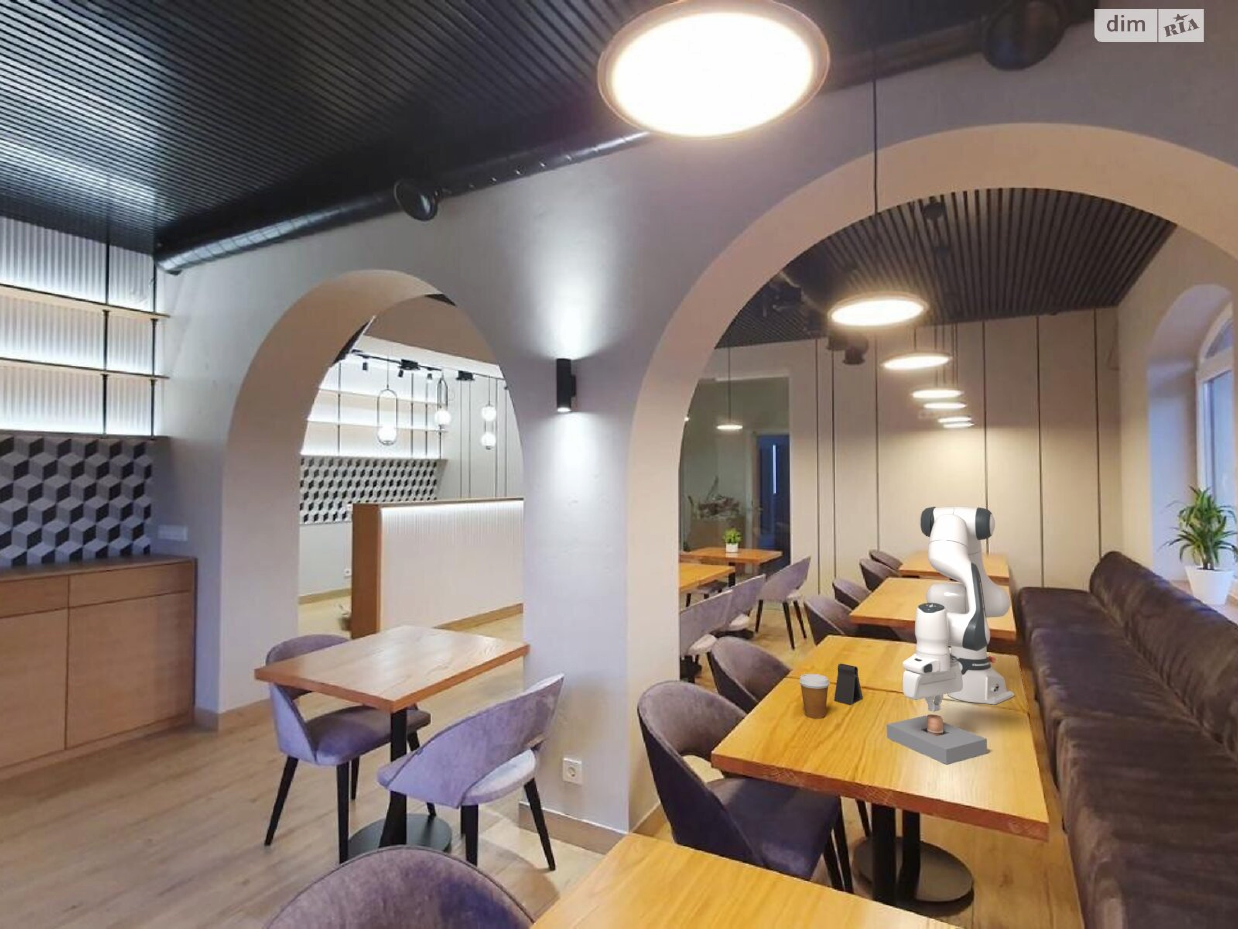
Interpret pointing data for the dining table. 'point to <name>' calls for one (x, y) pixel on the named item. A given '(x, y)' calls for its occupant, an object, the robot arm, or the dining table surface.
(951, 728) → the gray board
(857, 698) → the phone stand
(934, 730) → the terracotta peg
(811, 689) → the disposable coffee cup
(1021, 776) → the dining table surface
